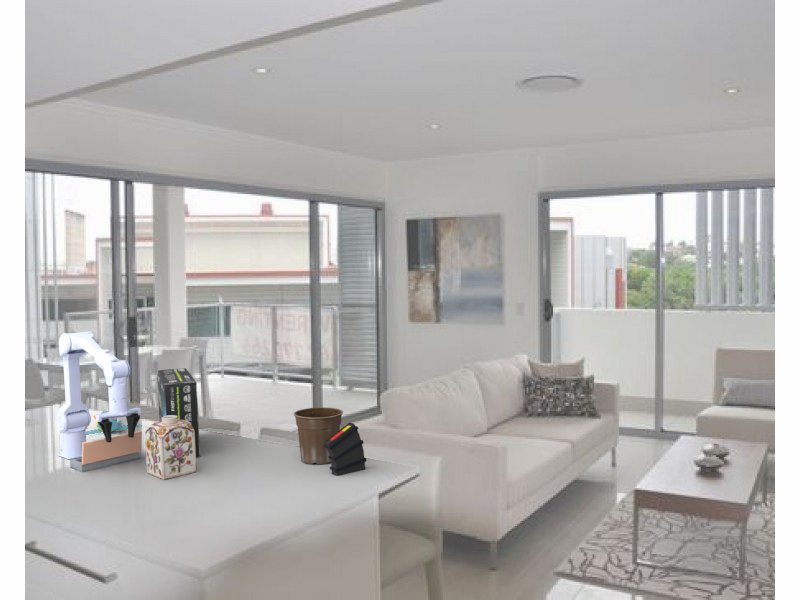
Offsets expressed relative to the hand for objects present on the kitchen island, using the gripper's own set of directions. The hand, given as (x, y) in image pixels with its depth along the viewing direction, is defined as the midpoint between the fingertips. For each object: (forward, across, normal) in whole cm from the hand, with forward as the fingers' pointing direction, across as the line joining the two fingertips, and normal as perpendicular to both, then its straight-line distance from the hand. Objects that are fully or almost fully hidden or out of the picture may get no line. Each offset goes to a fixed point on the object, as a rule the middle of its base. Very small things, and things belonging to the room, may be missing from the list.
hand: (120, 439), depth 229 cm
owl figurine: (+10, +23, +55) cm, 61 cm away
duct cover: (+3, 0, +6) cm, 7 cm away
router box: (+10, +26, +8) cm, 29 cm away
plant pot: (+10, +45, -46) cm, 65 cm away
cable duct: (+9, 0, +10) cm, 14 cm away
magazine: (+10, +40, -64) cm, 76 cm away
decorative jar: (+10, +7, -18) cm, 22 cm away
